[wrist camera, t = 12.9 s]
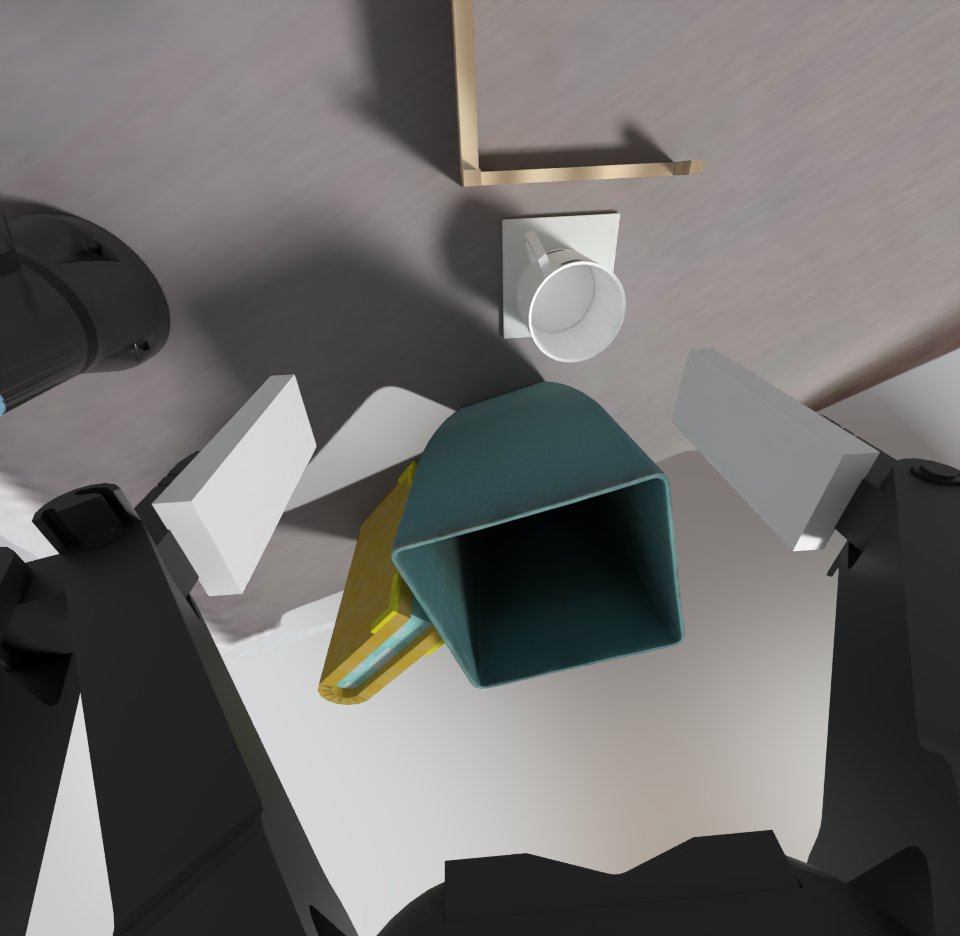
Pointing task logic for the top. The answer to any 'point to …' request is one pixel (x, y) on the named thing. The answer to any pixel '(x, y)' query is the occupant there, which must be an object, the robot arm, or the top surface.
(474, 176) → the frame
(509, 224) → the felt mat
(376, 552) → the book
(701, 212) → the top surface
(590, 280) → the mug
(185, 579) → the robot arm
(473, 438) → the flower pot
